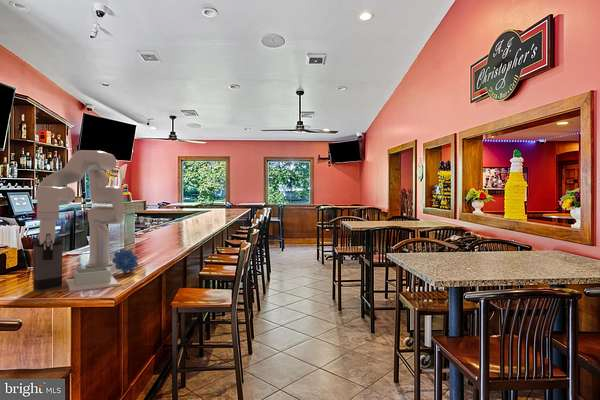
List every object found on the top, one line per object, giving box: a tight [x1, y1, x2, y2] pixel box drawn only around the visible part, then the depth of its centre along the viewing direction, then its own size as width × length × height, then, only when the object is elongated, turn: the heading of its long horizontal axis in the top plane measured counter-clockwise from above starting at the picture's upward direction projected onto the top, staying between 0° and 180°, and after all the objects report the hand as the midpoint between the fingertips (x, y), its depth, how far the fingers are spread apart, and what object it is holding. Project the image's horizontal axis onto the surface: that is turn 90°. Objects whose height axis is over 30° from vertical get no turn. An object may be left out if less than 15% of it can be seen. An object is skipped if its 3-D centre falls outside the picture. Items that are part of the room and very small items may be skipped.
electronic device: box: [32, 238, 63, 293], centre depth 153 cm, size 9×6×20 cm, turn 145°
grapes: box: [111, 248, 139, 274], centre depth 184 cm, size 12×7×12 cm, turn 117°
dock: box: [65, 266, 120, 292], centre depth 163 cm, size 18×18×6 cm
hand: (47, 258), depth 153 cm, fingers open, 9 cm apart
